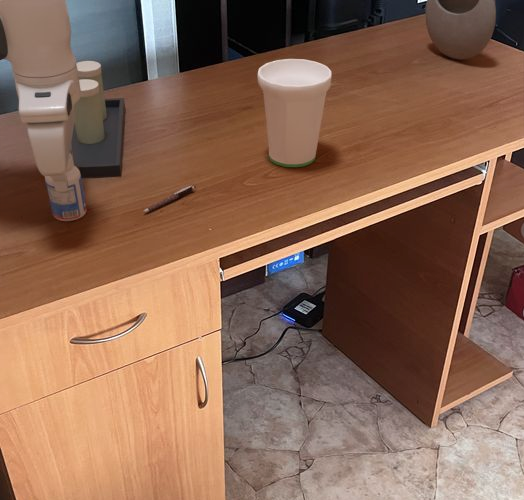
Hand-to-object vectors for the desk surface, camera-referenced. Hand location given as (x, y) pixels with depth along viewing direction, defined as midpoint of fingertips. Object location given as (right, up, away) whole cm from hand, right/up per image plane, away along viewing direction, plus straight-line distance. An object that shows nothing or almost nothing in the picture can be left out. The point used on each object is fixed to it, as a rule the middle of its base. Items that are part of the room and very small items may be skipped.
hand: (64, 174), depth 121 cm
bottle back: (-2, +18, +31) cm, 36 cm away
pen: (+15, -3, +7) cm, 17 cm away
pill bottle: (0, -5, +4) cm, 7 cm away
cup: (+36, +7, +20) cm, 42 cm away
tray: (-1, +12, +24) cm, 27 cm away
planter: (+74, +39, +58) cm, 101 cm away
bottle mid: (-1, +12, +24) cm, 27 cm away
